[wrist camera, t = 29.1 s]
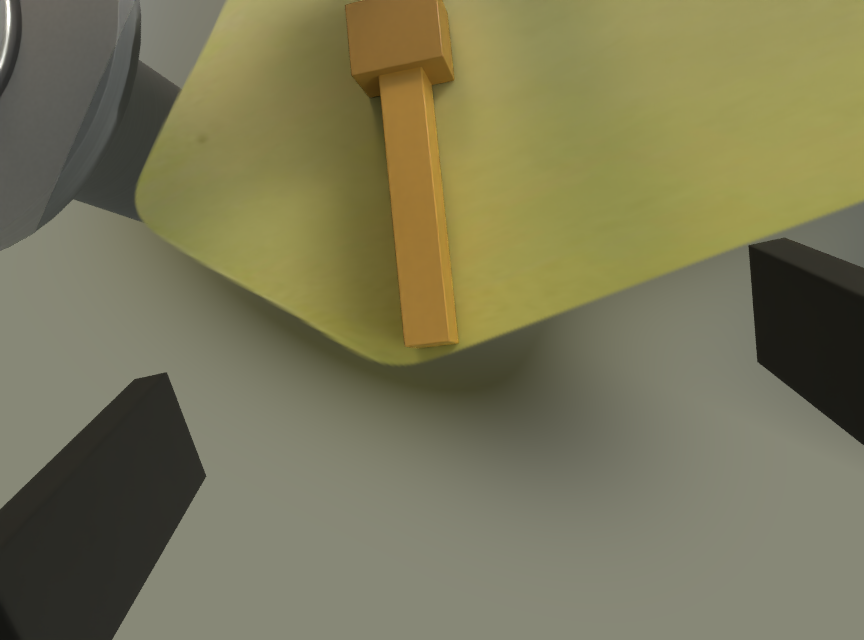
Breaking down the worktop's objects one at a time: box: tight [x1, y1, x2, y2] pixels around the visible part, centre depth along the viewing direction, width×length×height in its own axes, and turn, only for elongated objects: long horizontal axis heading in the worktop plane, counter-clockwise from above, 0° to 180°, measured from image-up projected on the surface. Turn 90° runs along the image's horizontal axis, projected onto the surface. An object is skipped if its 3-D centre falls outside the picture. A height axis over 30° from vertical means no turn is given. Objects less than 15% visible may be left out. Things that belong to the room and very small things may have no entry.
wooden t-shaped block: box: [345, 0, 459, 348], centre depth 36 cm, size 5×18×3 cm, turn 6°
